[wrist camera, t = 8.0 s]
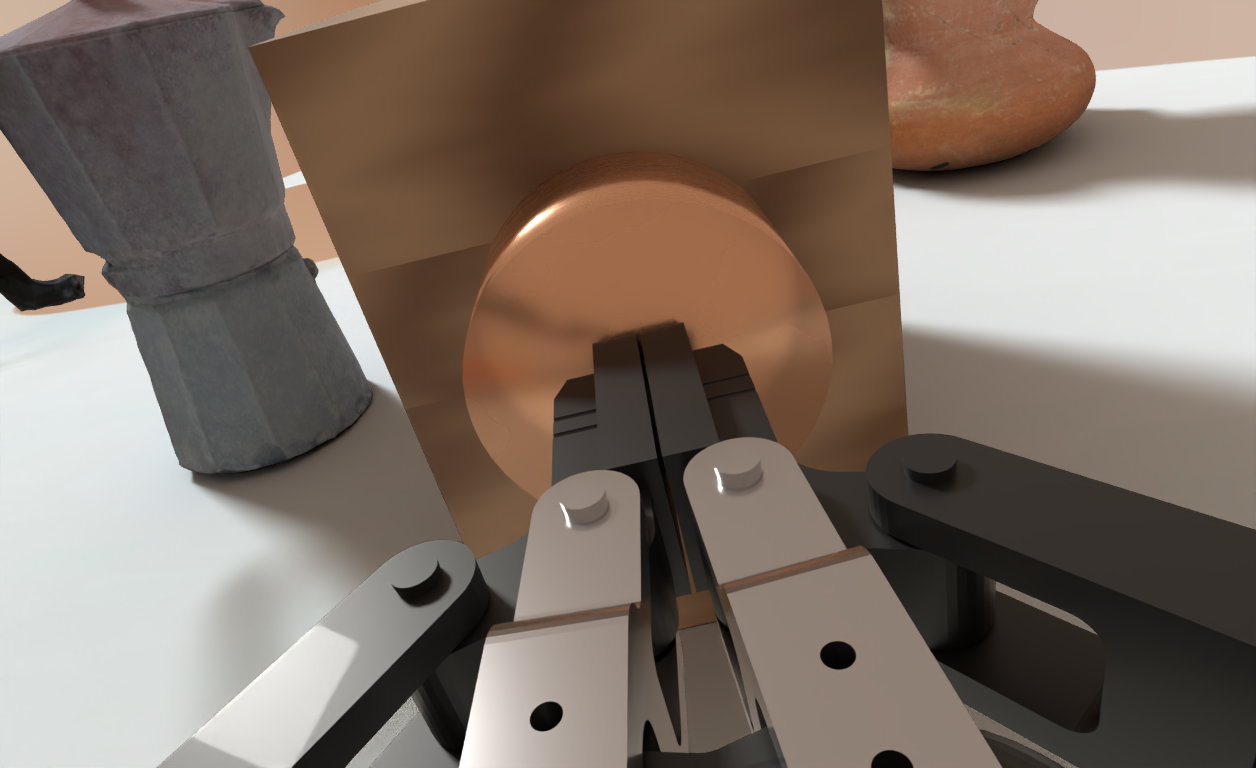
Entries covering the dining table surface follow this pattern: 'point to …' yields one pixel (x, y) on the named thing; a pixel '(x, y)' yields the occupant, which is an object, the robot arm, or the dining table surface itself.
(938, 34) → the ceramic jug
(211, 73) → the moka pot
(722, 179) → the plunger
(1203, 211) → the dining table surface
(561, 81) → the press housing
